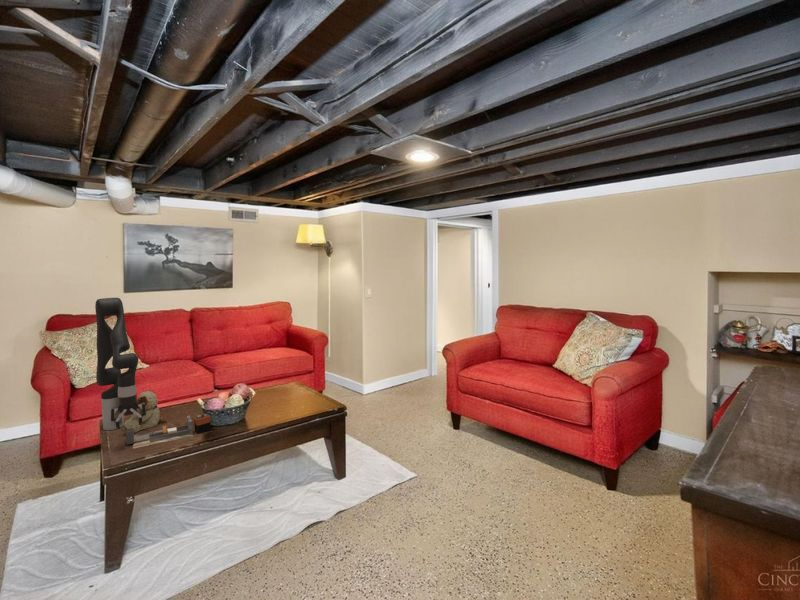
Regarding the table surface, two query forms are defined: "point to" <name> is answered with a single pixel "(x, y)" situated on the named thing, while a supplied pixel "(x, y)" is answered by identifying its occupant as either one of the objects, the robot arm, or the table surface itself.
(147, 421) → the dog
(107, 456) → the table surface
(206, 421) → the battery
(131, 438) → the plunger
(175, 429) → the marker
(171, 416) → the table surface
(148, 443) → the gauge board
